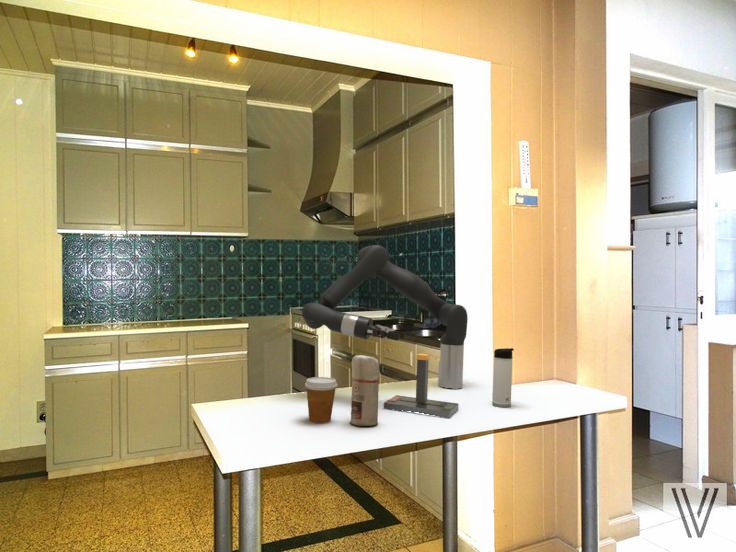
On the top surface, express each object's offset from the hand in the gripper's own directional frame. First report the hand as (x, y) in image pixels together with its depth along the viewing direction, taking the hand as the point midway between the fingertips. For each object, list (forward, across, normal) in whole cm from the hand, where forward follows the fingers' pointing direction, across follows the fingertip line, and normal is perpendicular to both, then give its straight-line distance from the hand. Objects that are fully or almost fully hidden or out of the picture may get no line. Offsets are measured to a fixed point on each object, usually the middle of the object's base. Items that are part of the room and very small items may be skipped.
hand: (401, 336), depth 165 cm
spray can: (-1, -22, +25) cm, 33 cm away
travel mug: (+36, +18, +17) cm, 44 cm away
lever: (+11, +1, +19) cm, 22 cm away
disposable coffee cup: (-14, -24, +28) cm, 39 cm away
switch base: (+11, +1, +22) cm, 25 cm away
